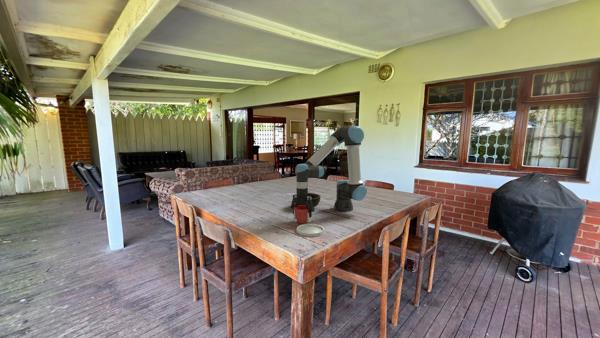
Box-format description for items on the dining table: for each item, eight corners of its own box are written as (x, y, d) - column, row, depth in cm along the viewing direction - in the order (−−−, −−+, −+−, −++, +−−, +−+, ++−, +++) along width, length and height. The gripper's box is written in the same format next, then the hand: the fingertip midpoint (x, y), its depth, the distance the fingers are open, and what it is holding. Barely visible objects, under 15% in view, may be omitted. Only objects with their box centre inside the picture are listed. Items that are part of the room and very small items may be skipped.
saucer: (306, 224, 170) (306, 222, 170) (329, 230, 161) (329, 227, 160) (291, 232, 156) (291, 229, 156) (315, 238, 147) (315, 235, 147)
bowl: (288, 206, 213) (288, 194, 212) (312, 203, 223) (312, 191, 221) (300, 213, 194) (300, 200, 193) (325, 210, 203) (325, 197, 202)
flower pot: (295, 224, 168) (295, 210, 166) (293, 219, 178) (292, 205, 177) (311, 223, 170) (311, 209, 168) (308, 218, 180) (308, 204, 179)
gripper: (284, 186, 174) (285, 218, 177) (314, 190, 161) (313, 225, 164) (291, 184, 180) (291, 215, 183) (320, 188, 168) (319, 221, 171)
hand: (302, 220), depth 174 cm, fingers closed on flower pot, 10 cm apart
